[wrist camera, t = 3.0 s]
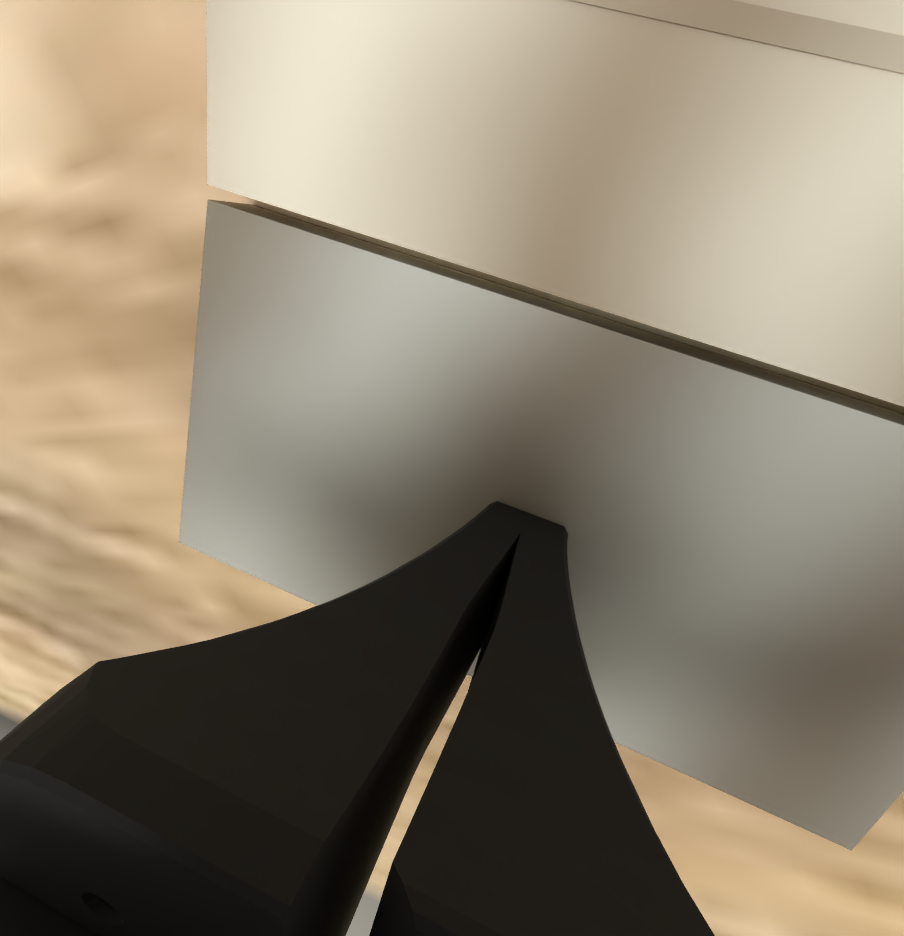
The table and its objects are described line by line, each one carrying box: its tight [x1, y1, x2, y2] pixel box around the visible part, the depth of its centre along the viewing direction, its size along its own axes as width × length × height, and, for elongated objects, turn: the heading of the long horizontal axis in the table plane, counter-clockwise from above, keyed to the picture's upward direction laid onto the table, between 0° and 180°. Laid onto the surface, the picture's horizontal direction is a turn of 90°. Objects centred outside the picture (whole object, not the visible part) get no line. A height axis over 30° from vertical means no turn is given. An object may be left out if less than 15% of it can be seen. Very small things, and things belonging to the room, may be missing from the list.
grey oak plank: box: [179, 200, 904, 850], centre depth 11 cm, size 14×7×1 cm, turn 77°
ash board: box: [207, 0, 904, 407], centre depth 7 cm, size 14×7×1 cm, turn 77°
